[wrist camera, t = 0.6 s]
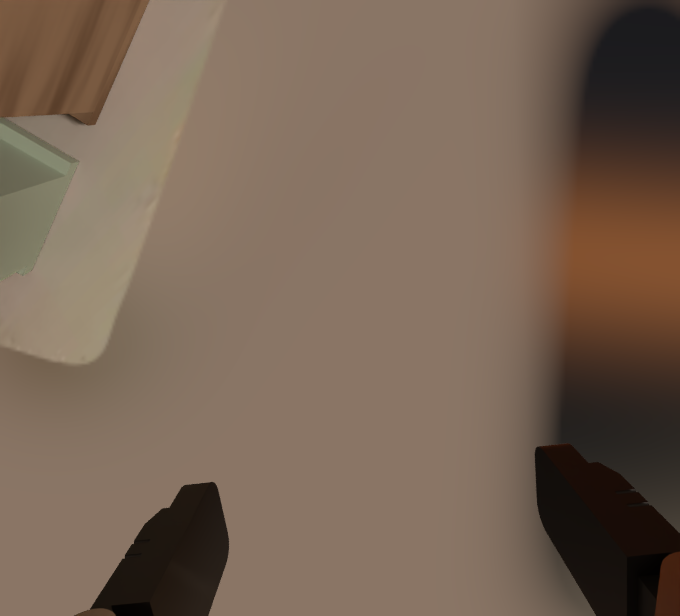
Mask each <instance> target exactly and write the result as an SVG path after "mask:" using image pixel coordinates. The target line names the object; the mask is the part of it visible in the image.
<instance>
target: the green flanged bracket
mask: <svg viewBox="0 0 680 616" xmlns="http://www.w3.org/2000/svg"><path fill="white" fill-rule="evenodd" d="M78 163H79V161H77V160H76V159H74V158H72V157H71V156H69V155H67V154H65V153H64V152H62V151H60V150H59V149H57V148H55V147H53V146H52V145H50V144H48V143H46V142H45V141H43V140H41V139H40V138H38V137H36V136H34V135H33V134H31V133H29V132H28V131H26V130H24V129H22V128H21V127H19V126H17V125H16V124H14V123H12V122H10V121H9V120H7V119H5V118H4V117H1V118H0V282H1V281H3V280H4V279H6V278H8V277H9V276H11V275H13V274H14V273H18V274H20V275H22V276H24V275H25V274H27V273H29V272H30V271H32V269H33V266H34V264H35V262H36V259H37V257H38V255H39V253H40V250H41V248H42V246H43V243H44V241H45V239H46V237H47V234H48V232H49V230H50V227H51V225H52V223H53V220H54V218H55V216H56V214H57V211H58V209H59V207H60V204H61V202H62V200H63V197H64V195H65V193H66V191H67V188H68V186H69V184H70V181H71V179H72V177H73V174H74V172H75V170H76V168H77V165H78Z"/></svg>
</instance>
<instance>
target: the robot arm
mask: <svg viewBox="0 0 680 616" xmlns="http://www.w3.org/2000/svg"><path fill="white" fill-rule="evenodd" d="M535 468H536V469H535V470H536V491H537V505H538V511H539V515H540V518H541V521H542V524H543V527H544V528H545V531H546V532H547V534H548V536H549V538H550V539H551V541H552V543H553V544H554V546H555V547H556V549H557V551H558V552H559V554H560V556H561V558H562V559H563V561H564V563H565V564H566V566H567V568H568V569H569V571H570V572H571V574H572V576H573V578H574V579H575V581H576V583H577V584H578V586H579V588H580V589H581V591H582V593H583V594H584V596H585V597H586V599H587V601H588V603H589V604H590V606H591V608H592V609H593V611H594V613H595V614H596V616H680V533H679V532H678V531H677V530H676V529H675V528H674V527H673V526H672V525H671V524H670V523H669V522H668V521H666V519H665V518H664V517H663V516H662V515H661V514H659V512H657V510H656V509H655V508H654V507H653V506H651V505H649V504H648V501H647V500H645V498H644V497H643V496H642V495H641V494H640V493H639V492H636V491H635V488H634V487H633V486H631V484H630V483H629V482H628V481H627V480H625V479H624V477H623V476H621V474H619V473H617V472H615V471H613V470H612V469H610V468H608V467H606V466H604V465H603V464H601V463H599V462H593V463H588V462H587V461H586V460H585V459H584V458H583V457H582V456H581V455H580V453H579V452H578V451H577V450H576V449H575V448H574V447H573V446H572V445H571V444H569V443H566V444H558V445H549V446H539V447H537V448H536V450H535ZM228 551H229V538H228V532H227V528H226V523H225V518H224V514H223V510H222V505H221V501H220V496H219V492H218V488H217V486H216V484H215V483H214V482H210V483H200V484H191V485H184V486H183V487H182V488H181V489H180V491H179V493H178V494H177V496H176V498H175V499H174V501H173V503H172V504H171V506H170V508H163V509H161V510H160V511H159V512H158V513H157V514H156V515H155V516H154V517H152V518H151V519H150V520H149V521H148V522H147V523H145V525H144V526H143V528H142V529H141V531H140V532H139V534H138V536H137V537H136V539H135V540H134V544H132V545H131V546H130V548H129V550H128V551H127V553H126V554H125V559H122V561H121V562H120V563H119V565H118V567H117V568H116V570H115V571H114V573H113V574H112V576H111V577H110V579H109V580H108V582H107V584H106V585H105V587H104V588H103V590H102V591H101V593H100V594H99V596H98V598H97V599H96V601H95V602H94V604H93V605H92V607H91V608H90V610H87V611H84V612H81V613H79V614H77V615H74V616H208V614H209V611H210V609H211V606H212V603H213V600H214V597H215V594H216V591H217V589H218V586H219V583H220V580H221V577H222V574H223V571H224V568H225V565H226V562H227V558H228Z"/></svg>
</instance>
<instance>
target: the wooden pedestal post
mask: <svg viewBox="0 0 680 616" xmlns="http://www.w3.org/2000/svg"><path fill="white" fill-rule="evenodd" d="M148 2H149V0H0V118H1V117H18V116H36V115H53V114H70V115H71V116H73V117H75V118H76V119H78V120H80V121H81V122H83V123H85V124H86V125H95V124H96V122H97V119H98V117H99V115H100V112H101V110H102V108H103V105H104V103H105V101H106V99H107V96H108V94H109V92H110V89H111V87H112V85H113V82H114V80H115V78H116V76H117V73H118V71H119V69H120V66H121V64H122V62H123V59H124V57H125V55H126V53H127V50H128V48H129V46H130V43H131V41H132V39H133V36H134V34H135V32H136V30H137V27H138V25H139V23H140V20H141V18H142V16H143V14H144V11H145V9H146V7H147V4H148Z"/></svg>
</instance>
